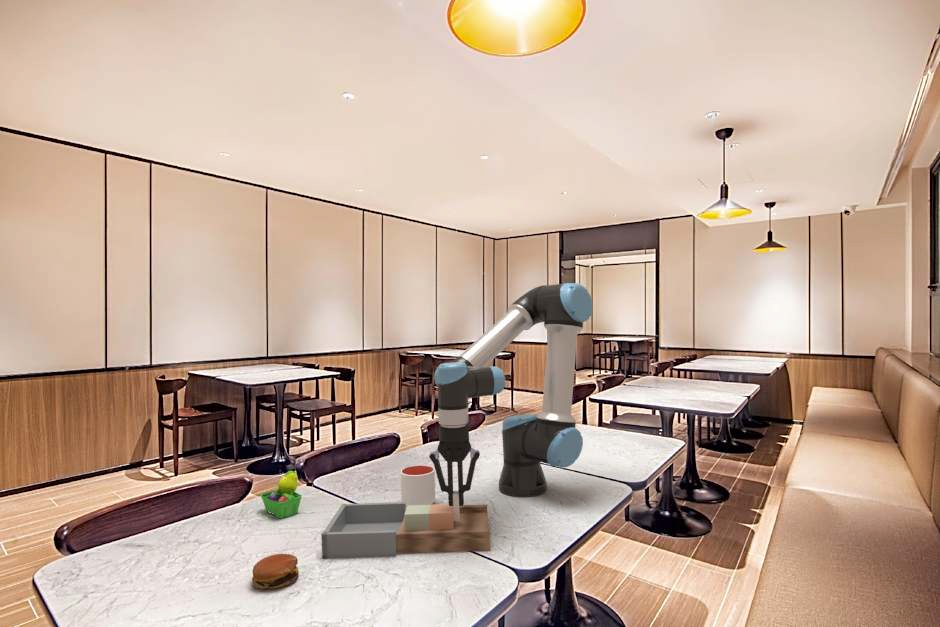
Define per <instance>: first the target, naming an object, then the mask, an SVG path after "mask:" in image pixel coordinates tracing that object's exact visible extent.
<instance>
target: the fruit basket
mask: <svg viewBox="0 0 940 627" xmlns="http://www.w3.org/2000/svg"><path fill="white" fill-rule="evenodd" d="M298 477H299V476H298V475H297V472H296V471H293V470H288V471H287V472H286V474H285V475H284V476H283V477H281V479H279V480H278V482H277V487H278V489H273V491H269V492H265V493H262V494H260V497H261V498H260V499H262V502H263V505H264V507H265V508H264V509H265V511H266V510H267V511H269V512H271V513H273V514H274V515H276V516H278V517H279V518H278V517H277V518H278V519H280V518H282V519H284V518H283V517H285V518H288V517H291V516H293V515H297V514H298V512H299V507H300V503H301V500H302V497H303V495H302V494H299V493H298V492H296V490H297V489H298V479H299V478H298ZM296 513H297V514H296ZM274 515H273V516H274ZM290 515H291V516H290ZM276 516H275V517H276ZM287 516H288V517H287Z"/></svg>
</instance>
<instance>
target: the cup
mask: <svg viewBox="0 0 940 627" xmlns="http://www.w3.org/2000/svg"><path fill="white" fill-rule="evenodd" d="M435 473H436V470H435V467H433V466H429V465H421V464H420V465H411V466H407V467H404V468H402V469H401V471H400V490H401V491H400V492H401V493H400V494H401V502H406V507H407V505H434V503H435V501H436V477H435V476H436V474H435Z"/></svg>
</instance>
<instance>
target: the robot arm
mask: <svg viewBox="0 0 940 627" xmlns="http://www.w3.org/2000/svg"><path fill="white" fill-rule="evenodd" d="M593 309H594V308H593V298H592V296H591V294H590V293H589V291H588V289H587V288H586V287H585V286H584V285H582V284H580V283H577V282H575V283H573V282H571V283H570V282H565V283H559V284H558V283H557V284H550V285H549V284H547V285H545V284H544V285H539V286H536V287H533V288H532V289H530V290H529V291H527V292H525V293H524V294H522V295H521V296H520V297H519V298H517V299H516V300H515V301H514V302H513V303H512V304H510V305H509V306H508V308H507V310H506V311H507V312H506V313H505V314H504V315H503V316H502V317H501V318H500V319H498V320H497V321H496V322H495V323H494V324H493V325H492V326H491V327H489V329H487V330H486V331H485V332H484V333H483V334H481V336H480V337H478V338H477V339H476V340H475V341H474V342H473V343H472V344H471V345H469V346H468V347H467V348H466V349H465V350H464V351H463V352H462V353H461V354H460V355H458V356H457V357H456V358H455V359H454V360H453V361H452V362H444V363H440V364H439V365H438V366H437V368H436V369H435V371H434V374H433V378H434V383H435V385H436V386H437V405H438V406H437V411H438V412H437V413H438V414H437V415H438V417H437V418H438V424H439V427H438V438H439V440H438V442H439V443H438V445H437V448H436V449H435V450H433V451H430V453H429V455H428V456H429V459H430V461H431V462H432V464H433V466H434V467H433V468H434V470H435V473H436V474H435V475H436V476H437V481H438V483H439V488H440V491H441V492H443V493H444V492H445V493H446V494H447V495H448V499H447V500H448V504H449V506H453V514H454V521H459V520H460V512H459V506H463V505H464V503H465V502H464V501H465V500H464V493H466V492H469V491H470V490H471V487H472V482H473V477H474V473H475V468H476V463H477V461H478V460H479V458H480V455H481V454H480V453H481V452H480V451H479V450H478V449H475V448H473V447H472V444H471V442H470V426H469V424H468V423H469V399H474V398H480V397H487V396H490V397H491V396H494V395H496V394H500V393H502V392H503V390H504V388H505V386H506V376H505V373H504V371H503V369H501V368H500V367H499V366H491V365H490V366H489V364H490V363H491V362H492V361H493V360H494V359H495V358H496V357H497V356H498V355H499V354H501V352H502V351H503V350H504V349H505V348H507V347H508V346H509V345H510V344H511V343H512V342H513V341H514V340H515V339H516V338H517V337H518V336H520V335H521V333H522V332H524V331H528V330H530V329H531V328H533V326H535V325H537V324H540V323H543V327H544V328H545V329H546V331H547V332H548V333H547V336H548V337H547V346H546V347H547V348H546V357H545V358H546V359H545V360H546V361H545V371H544V372H545V373H544V383H543V384H544V385H543V397H542V406H541V408H542V409H541V411H540V413H539V414H535V413H534V414H532V413H531V414H530V413H528V414H518V415H513V416H507V417H505V418H504V419H503V421H502V430H501V434H502V436H501V437H502V453H503V454H502V456H503V466H502V469H501V473H500V476H499V480H498V490H499V492H501V493H502V494H504V495H506V496H507V495H508V496H511V497H521V498H522V497H525V498H526V497H535V496H539V495H542V494H544V493H546V491H547V490H548V486H547V485H548V482H547V479H546V476H545V474H544V470H543V468H542V465H541V463H543V464H547V465H550V466H552V467H559V468H567V467H570V466H572V465H573V464H574V463H575V462H576V461H577V460H578V458H579V457H580V456H581V453H582V450H583V445H584V442H583V441H584V440H583V436H582V433H581V431H580V430H579V429H577V427H576V426H577V424H576V423H577V421H576V419H575V418H574V417H573V415H572V407H573V396H574V395H573V394H574V393H573V392H574V380H575V368H576V367H575V366H576V354H577V342H578V341H577V340H578V334H579V333H580V332H582V330H584V323H585V322H586V321H587V322H588V320H589V319H590V318H591V316H592V314H593ZM469 453H470V454H469ZM440 455H441V457H442V458H443V460H444V461H446V463H447V464H446V467H447V468H446V469H447V484H446V481H445V477H444V474H443V470H442V467H441V463H440V460H439V459H440ZM468 455H469V457H470V462H469V468H468V471H467V476H466V482H465V484H464V472H463V471H464V470H463V469H464V468H463V461H465V459H466V458H467V456H468ZM453 463H457V484H458V485H457V486H458V488H457V490H454V475H453V473H454V472H453Z"/></svg>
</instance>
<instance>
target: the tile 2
mask: <svg viewBox="0 0 940 627" xmlns="http://www.w3.org/2000/svg"><path fill="white" fill-rule="evenodd" d="M446 529H454V514H453V506H449V503H443V504H442V503H440V504H432V505H430V510H429V530H446Z"/></svg>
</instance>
